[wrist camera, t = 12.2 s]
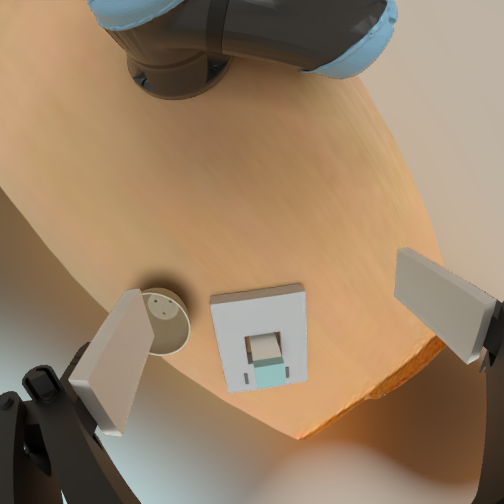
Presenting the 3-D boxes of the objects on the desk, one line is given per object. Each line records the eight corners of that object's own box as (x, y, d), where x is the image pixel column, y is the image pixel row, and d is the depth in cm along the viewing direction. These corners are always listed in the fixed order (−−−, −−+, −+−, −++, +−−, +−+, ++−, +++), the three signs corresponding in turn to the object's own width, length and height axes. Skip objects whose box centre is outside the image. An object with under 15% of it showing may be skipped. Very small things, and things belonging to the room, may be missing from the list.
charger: (248, 330, 45) (254, 367, 36) (272, 326, 46) (284, 363, 36) (250, 349, 47) (257, 388, 37) (274, 346, 47) (285, 384, 37)
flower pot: (208, 307, 44) (205, 331, 37) (164, 340, 45) (157, 366, 38) (163, 261, 41) (152, 278, 34) (122, 299, 42) (107, 320, 35)
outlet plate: (210, 296, 43) (209, 305, 40) (300, 283, 44) (305, 291, 41) (228, 382, 48) (228, 393, 45) (303, 370, 49) (307, 381, 46)
